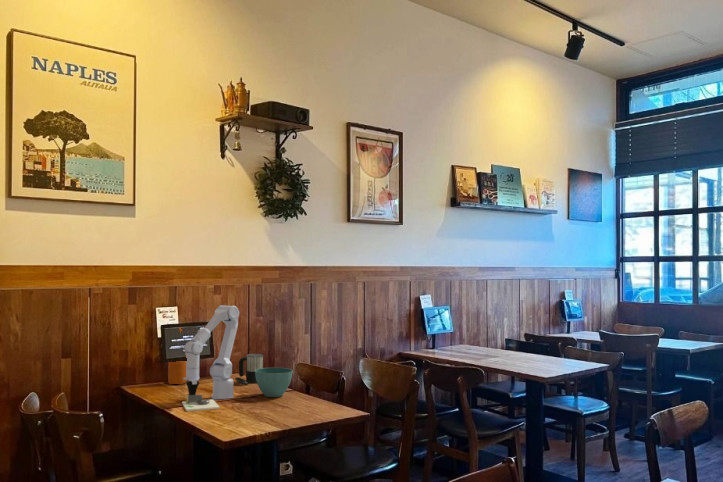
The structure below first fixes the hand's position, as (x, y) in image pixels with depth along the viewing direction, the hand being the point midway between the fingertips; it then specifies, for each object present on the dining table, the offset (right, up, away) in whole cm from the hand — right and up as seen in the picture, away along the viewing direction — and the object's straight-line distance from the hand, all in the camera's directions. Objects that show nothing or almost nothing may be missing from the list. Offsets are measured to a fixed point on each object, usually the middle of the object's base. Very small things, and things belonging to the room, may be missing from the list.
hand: (192, 397), depth 273 cm
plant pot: (+34, -4, +19) cm, 40 cm away
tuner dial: (+3, -1, -3) cm, 5 cm away
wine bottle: (-22, -5, +49) cm, 54 cm away
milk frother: (+16, -6, +52) cm, 55 cm away
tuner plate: (+5, -3, -5) cm, 7 cm away
